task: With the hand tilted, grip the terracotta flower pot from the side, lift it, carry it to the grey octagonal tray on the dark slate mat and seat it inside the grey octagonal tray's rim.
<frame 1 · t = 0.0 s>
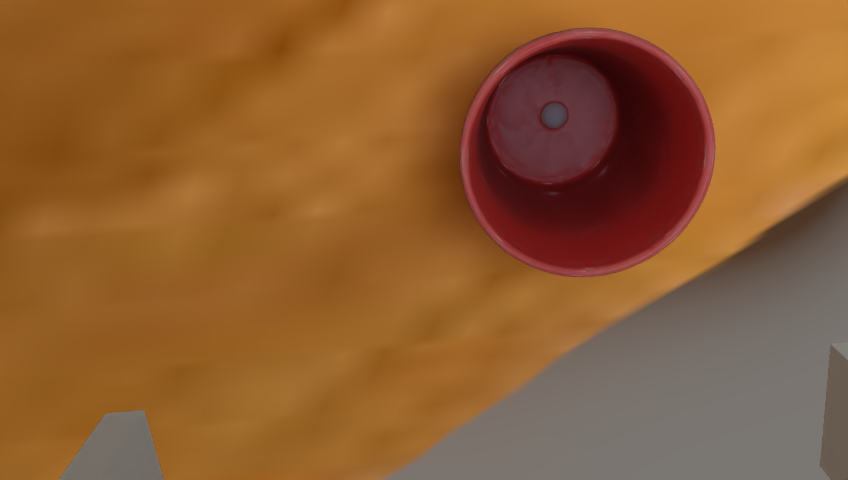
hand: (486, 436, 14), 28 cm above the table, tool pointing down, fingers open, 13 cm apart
flower pot: (550, 115, 41), on the table
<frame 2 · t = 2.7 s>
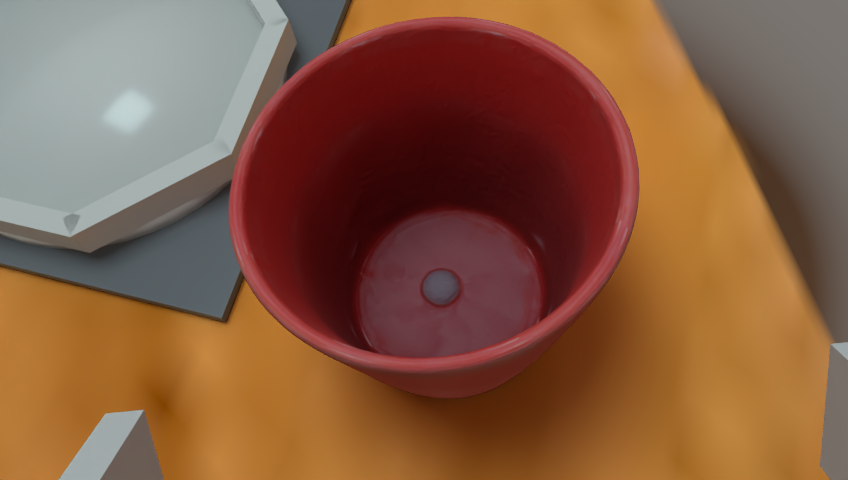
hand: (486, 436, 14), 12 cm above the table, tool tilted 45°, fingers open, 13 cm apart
flower pot: (447, 299, 29), on the table
grey octagonal tray: (115, 90, 34), on the table
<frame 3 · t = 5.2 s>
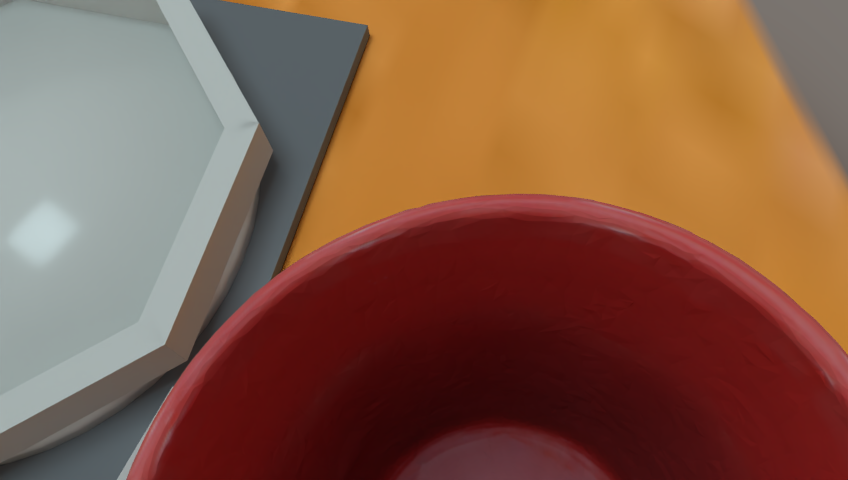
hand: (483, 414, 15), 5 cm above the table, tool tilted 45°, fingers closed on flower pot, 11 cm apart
grey octagonal tray: (15, 212, 24), on the table
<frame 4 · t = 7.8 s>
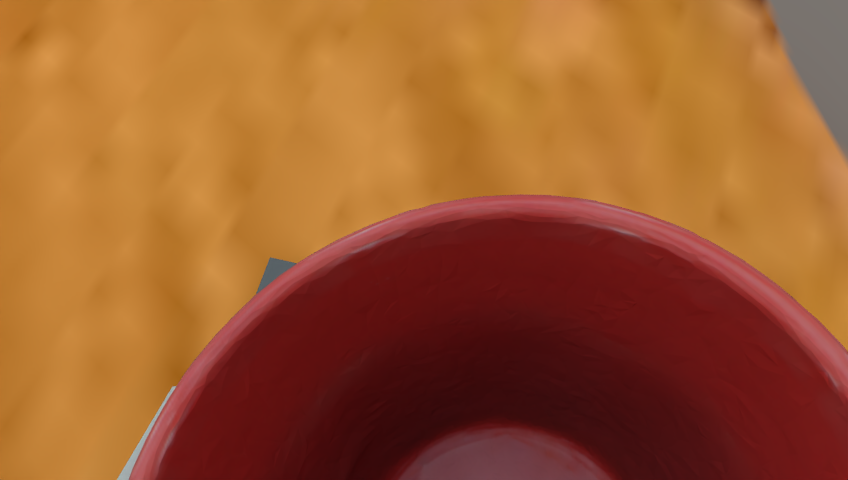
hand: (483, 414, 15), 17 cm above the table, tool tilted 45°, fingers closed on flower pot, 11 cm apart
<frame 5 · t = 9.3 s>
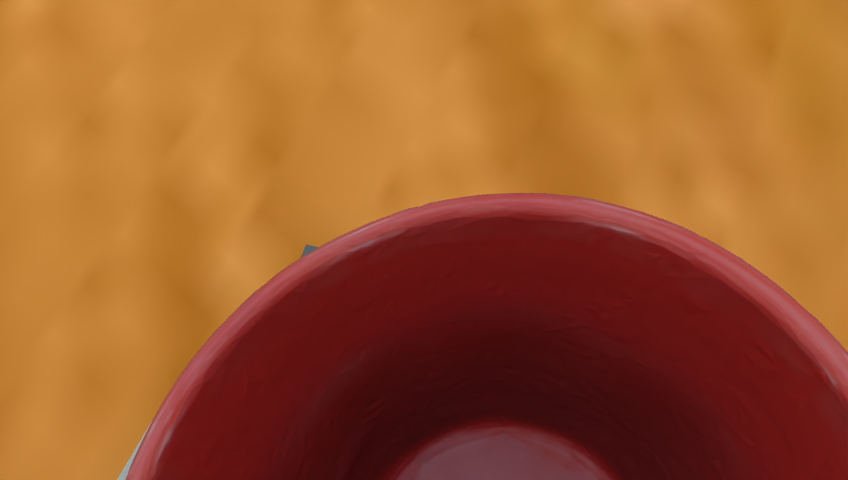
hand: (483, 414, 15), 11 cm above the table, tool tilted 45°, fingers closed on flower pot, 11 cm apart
when the fingers open (7 cm above the table, at t = 10.6 s): flower pot drops 1 cm, resting on grey octagonal tray.
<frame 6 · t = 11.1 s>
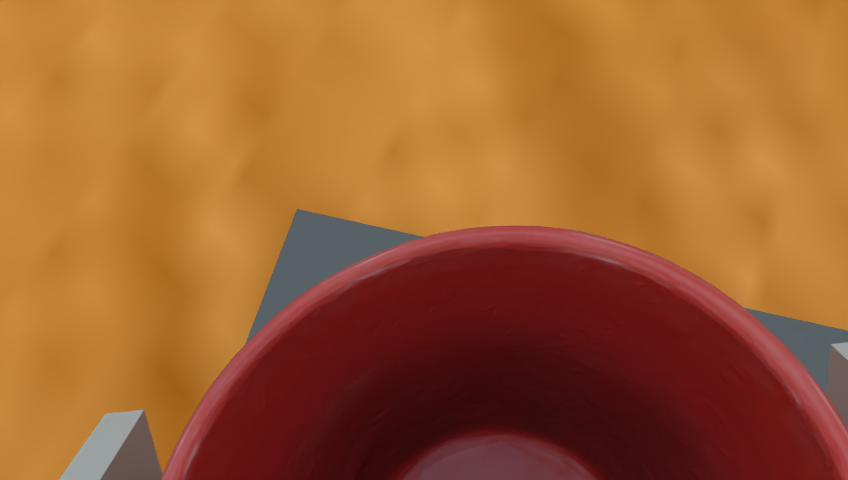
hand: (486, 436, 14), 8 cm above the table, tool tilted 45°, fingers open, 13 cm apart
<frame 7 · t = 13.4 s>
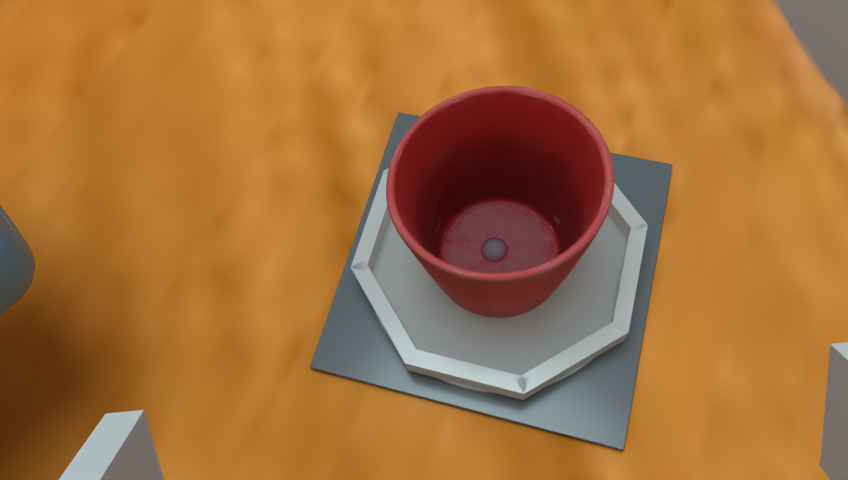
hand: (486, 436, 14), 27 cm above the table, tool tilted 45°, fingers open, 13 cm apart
flower pot: (497, 257, 44), point 1 cm above the table, touching grey octagonal tray
grey octagonal tray: (498, 265, 45), on the table
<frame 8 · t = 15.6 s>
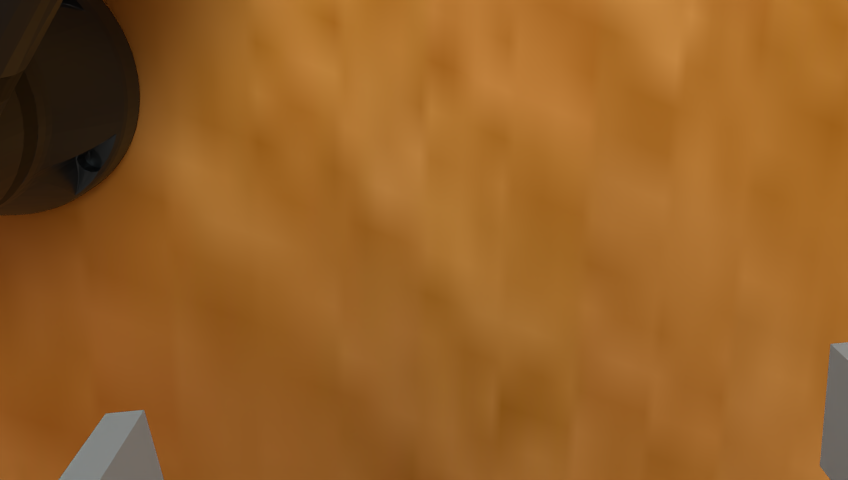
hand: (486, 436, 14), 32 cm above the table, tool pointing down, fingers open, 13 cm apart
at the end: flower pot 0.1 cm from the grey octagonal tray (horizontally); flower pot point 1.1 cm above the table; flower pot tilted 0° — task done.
